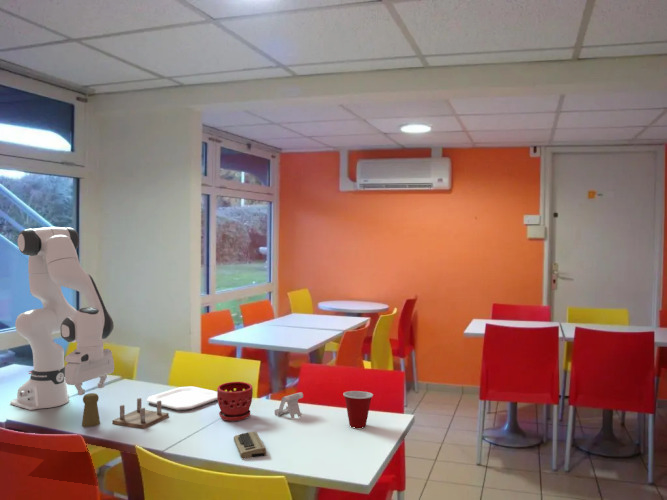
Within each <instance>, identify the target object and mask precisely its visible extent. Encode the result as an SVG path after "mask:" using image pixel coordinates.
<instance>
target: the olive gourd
mask: <svg viewBox="0 0 667 500" xmlns="http://www.w3.org/2000/svg"><path fill="white" fill-rule="evenodd" d="M98 401H99V395H98V393H96V392H94V393H93V392H92V393H85V394H83V397H82V403H83V406H84V407H83V415H82V420H81V421H82V422H81V426H82V427H83V428H90V427H91V428H92V427H96V426H99V425H100V424H101V420H100V414H99V407H98Z"/></svg>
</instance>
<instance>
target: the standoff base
mask: <svg viewBox="0 0 667 500" xmlns="http://www.w3.org/2000/svg"><path fill="white" fill-rule="evenodd" d="M125 411H126V409H125V405H124V404H121V405H119V417H117V418H114V419H113V420H112V425H119V426H125V427H130V428H131V427H132V428H137V429H146V428H148V427H150V426H152V425H154V424H156V423H158V422H160V421H162V420H164V419H167V418H168V417H169V416H170V415H169V412H162V406H161V401H157V405H156V411H154V410H147V409H146V407H142V398H141V397H137V398H136V409H135V410H133V411H131V412H128V413H126V414H125Z"/></svg>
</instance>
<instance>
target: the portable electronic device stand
mask: <svg viewBox="0 0 667 500" xmlns="http://www.w3.org/2000/svg"><path fill="white" fill-rule="evenodd" d="M303 398H304V394H303V392H302V391H301V392H296V393H293V394H292V393H291V394H290V395H286V396H282V397H281V402H280V404H279V408H277V409H274V415H275V416H276V417H278V416H279V417H280V416H281V415H285V414H288V413H289V416H290V419H291V418H294V419H295V415H297V417H298V418H300V417H302V414H301V413H302V412H301V410H300V405H299V402H298V401H299V399H303ZM285 403H287V406H285ZM299 416H300V417H299Z"/></svg>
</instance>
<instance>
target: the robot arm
mask: <svg viewBox="0 0 667 500" xmlns="http://www.w3.org/2000/svg"><path fill="white" fill-rule="evenodd" d="M78 233H79V232H77V230H76V229H75V228H72V227H68V226H64V227H60V226H47V227H37V228H26V229H23V230H21V231H20V232H19V233H18V237H17V246H18V247H17V248H18V249H19V252H20V253H22V255H25V256H28V261H27V262H28V268H27V270H28V273H27V274H28V282H29V283H28V284H29V290H30V291H29V292H30V294H31V295H32V297H33V298H35V299H38V300H39V301H40V302H41V303H42V307H41V308H35V309H29V310H27V311H25V312H22V313H20V314H18V315H17V317H16V320H15V325H14V326H15V330H16V332H17V333H18V335H19V336H20V337H22V338H24V339H25V340H26V341H27V343H28V344H29V345H30V348H31V351H32V359H33V360H32V362H33V363H32V364H33V369H32V370H29V371H28V375H30V377H29V379H28V380H27V381H26V382H24V384H22V385H21V386H20V387H18V389H17V394H16V395H17V397H16V398H15V399H12V400H11V401H10V405H12V406H16V407H20V408H23V409H25V410H29V411H31V410H32V411H34V410H37V409H38V410H39V409H47V408H48V409H50V408H54V407H55V408H56V407H59V406H63V405H65V404H67V403H69V401H70V399H69V398H70V395H69V394H68V388H67V385H68V386H70V385H71V386H74V387H75V389H76V390H77V395H78V396H82V395H83V396H84V395H86V389H84V388H83V387H82V386H83V383H85V382H87V381H92V380H95V379H97V378H99V382H98V383H97V388H98V389H104V388H105V382H106V380H107V375H109V374H112V373H114V370H115V361H114V358H113V351H112V350H111V349H109V348H105V349H104V341H103V340H106V339H108V337H109V336H110V335H111V334H112V332H113V330H114V325H115V324H114V322H113V318H112V317H111V315H110V313H109V311H108V310H107V308H106V306H105V304H104V301H103V299H102V296H101V294H100V292H99V291H100V290H99V289H98V287H97V285H96V282H95V281H94V278H93V277H92V276H91V275H90V274H89V273H87V272H86V271H85V270H84V269H83V266H81V263H80V260H79V256H78V253H77V249H78V247H79V244H80V237H79V236H80V235H79V234H78ZM62 287H63V288H67V289H70V290H74V291H77V292H79V293H80V294H82V295H83V296H84V298H85V300H86V303H87V305H88V307H82V308H79V309H78V310H77V309H76V308H75V307H74V306H72V305H71V304H70V303H69V302H68V301H67V299H66V298H65V296H64V293H63V291H62ZM59 333H60V336H61V338H62V339H63V340H64V341H65V342H68V343H76V349H74V350H73V351H71V352H70V353H69V354H67V355H66V356H65V350H64V347H63V346H62V345H61V344H58V343H56V342H55V341H54V339H53V335H54V334H59ZM65 362H66V365H65Z"/></svg>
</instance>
